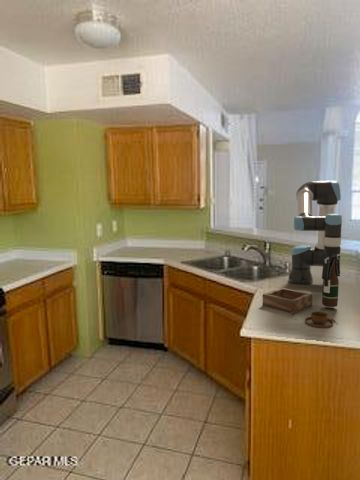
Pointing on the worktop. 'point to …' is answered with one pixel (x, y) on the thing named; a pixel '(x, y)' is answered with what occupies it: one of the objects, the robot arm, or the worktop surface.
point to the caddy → (287, 299)
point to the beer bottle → (331, 290)
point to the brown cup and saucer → (316, 318)
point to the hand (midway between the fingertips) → (330, 290)
